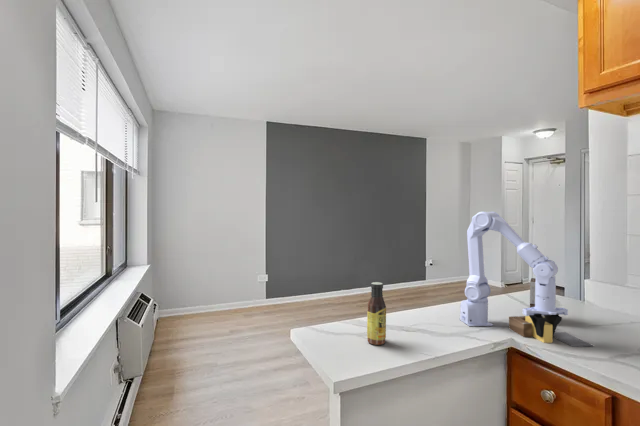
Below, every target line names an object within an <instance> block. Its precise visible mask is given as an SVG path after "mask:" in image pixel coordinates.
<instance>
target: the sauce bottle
mask: <svg viewBox="0 0 640 426" xmlns="http://www.w3.org/2000/svg"><path fill="white" fill-rule="evenodd" d="M370 288H371V291H370V292H371V294H370V295H371V296H370V298H369V299H368V301H367V313H366V314H367V316H366V318H367V319H366V333H367V334H366V337H367V338H366V339H367V342H368V343H369V344H370V345H374V346H381V345H384V344H385V342H386V338H387V306H386V303H385V299H384V297H383V296H384V295H383V293H384V292H383V288H384V284H383V282H379V281H375V282H374V281H373V282H371V283H370Z"/></svg>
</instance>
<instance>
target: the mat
mask: <svg viewBox="0 0 640 426" xmlns="http://www.w3.org/2000/svg"><path fill="white" fill-rule="evenodd" d="M552 338H555V339H557V340H558V341H561V342H562V343H564V344H566V345H568V346H570V347H572V348H582V347H594V344H592V343H590V342H587V341H585V340H583V339H582V338H581V339H580V338H579V337H577V336H575V335H573V334H570V333H568V332H566V331H564V332H563V331H561V332H557V331H555V332H554V335H553V337H552Z"/></svg>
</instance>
